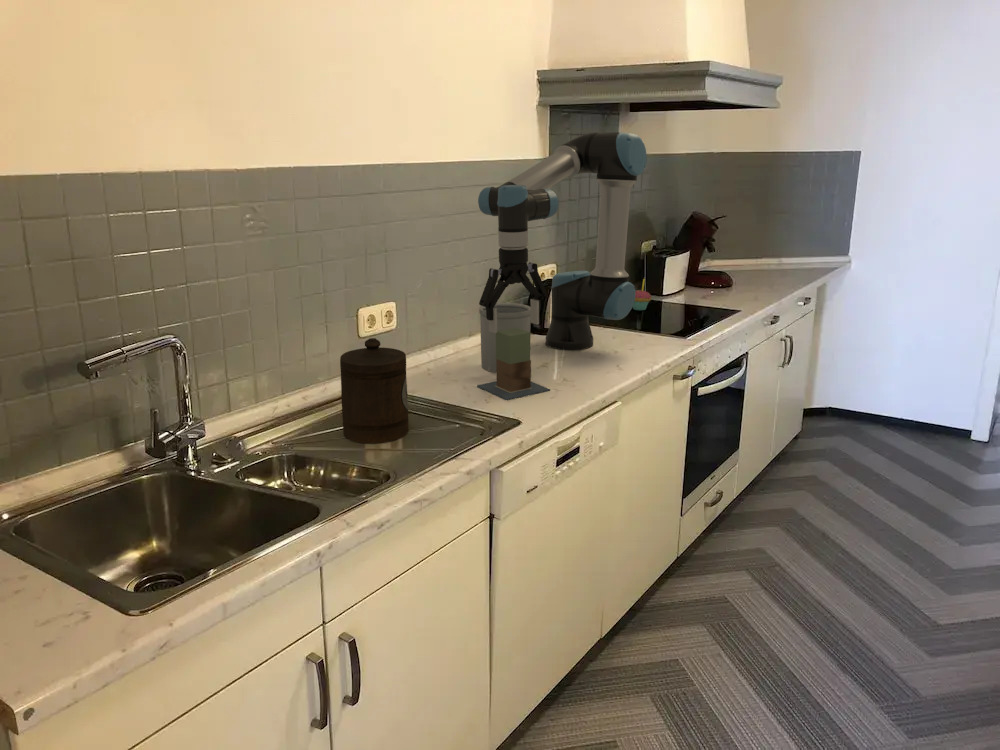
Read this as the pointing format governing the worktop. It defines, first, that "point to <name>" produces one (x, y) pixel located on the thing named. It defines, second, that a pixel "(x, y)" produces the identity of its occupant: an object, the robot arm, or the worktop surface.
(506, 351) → the olive block
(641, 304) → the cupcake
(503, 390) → the blue square frame
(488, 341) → the utensil holder
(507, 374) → the walnut block
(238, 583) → the worktop surface
